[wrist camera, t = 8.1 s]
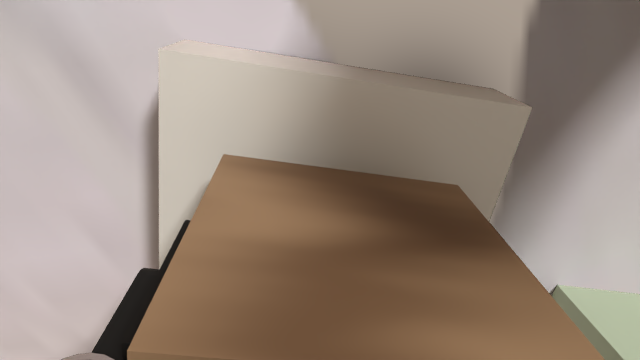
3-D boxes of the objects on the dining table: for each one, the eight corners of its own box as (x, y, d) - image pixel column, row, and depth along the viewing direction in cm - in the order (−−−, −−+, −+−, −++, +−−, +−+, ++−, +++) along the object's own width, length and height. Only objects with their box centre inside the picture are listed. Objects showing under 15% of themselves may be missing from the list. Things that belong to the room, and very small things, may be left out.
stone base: (493, 88, 13) (532, 107, 11) (416, 319, 17) (433, 367, 15) (184, 39, 12) (158, 48, 10) (179, 296, 16) (159, 345, 14)
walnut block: (457, 185, 10) (630, 390, 5) (402, 353, 13) (477, 617, 7) (223, 154, 10) (126, 351, 4) (211, 337, 12) (138, 613, 7)
